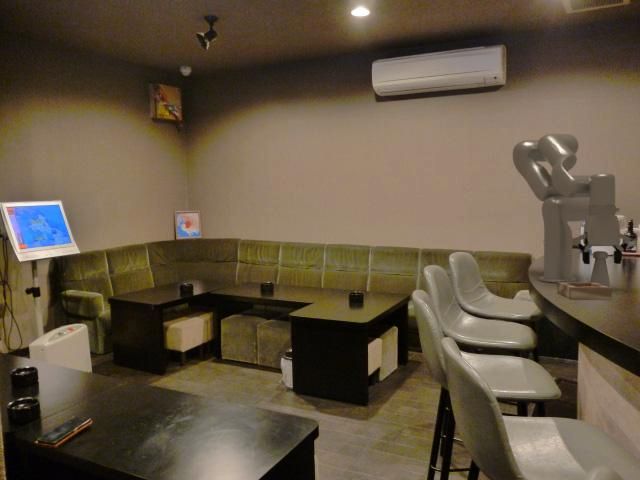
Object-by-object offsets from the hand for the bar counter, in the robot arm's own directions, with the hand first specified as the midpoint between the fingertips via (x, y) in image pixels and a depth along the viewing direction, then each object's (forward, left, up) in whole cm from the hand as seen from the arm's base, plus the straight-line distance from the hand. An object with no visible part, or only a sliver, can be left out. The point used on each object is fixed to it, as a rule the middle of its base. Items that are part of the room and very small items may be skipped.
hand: (601, 263), depth 167 cm
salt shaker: (-1, 0, -9) cm, 9 cm away
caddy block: (+10, -10, -9) cm, 17 cm away
